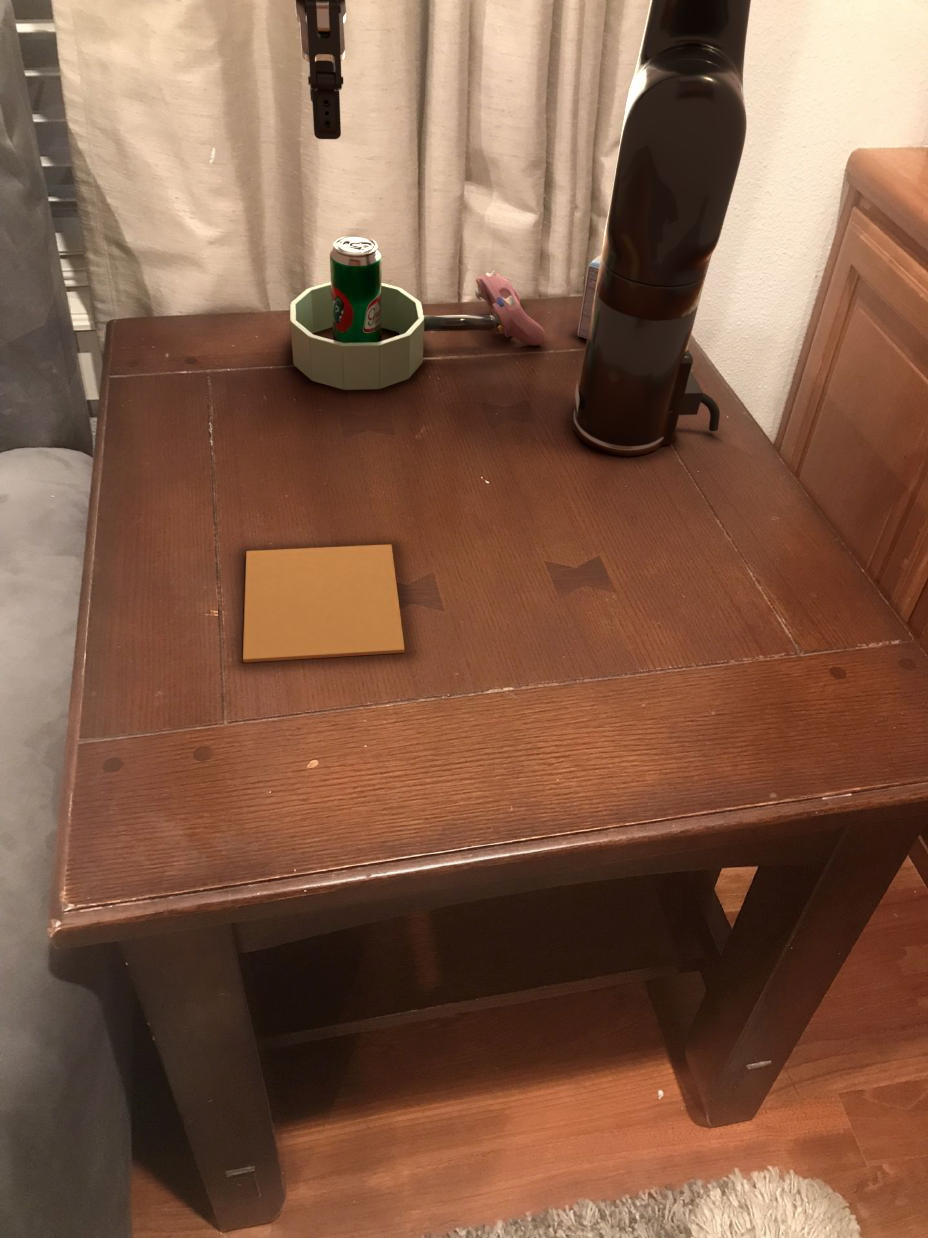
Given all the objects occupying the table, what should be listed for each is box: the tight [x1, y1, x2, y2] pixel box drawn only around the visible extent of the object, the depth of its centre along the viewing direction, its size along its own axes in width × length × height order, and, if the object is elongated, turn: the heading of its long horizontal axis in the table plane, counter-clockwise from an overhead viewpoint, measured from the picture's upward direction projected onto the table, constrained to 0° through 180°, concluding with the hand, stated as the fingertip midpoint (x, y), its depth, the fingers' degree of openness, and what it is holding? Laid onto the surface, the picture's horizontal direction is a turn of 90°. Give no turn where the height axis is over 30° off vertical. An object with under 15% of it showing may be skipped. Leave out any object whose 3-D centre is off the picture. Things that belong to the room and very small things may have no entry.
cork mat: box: [242, 543, 405, 664], centre depth 75 cm, size 12×12×1 cm
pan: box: [289, 281, 498, 391], centre depth 100 cm, size 22×14×5 cm, turn 98°
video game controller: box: [474, 269, 546, 347], centre depth 105 cm, size 10×5×7 cm, turn 17°
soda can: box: [329, 234, 383, 343], centre depth 97 cm, size 5×5×12 cm
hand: (325, 119), depth 82 cm, fingers open, 8 cm apart
